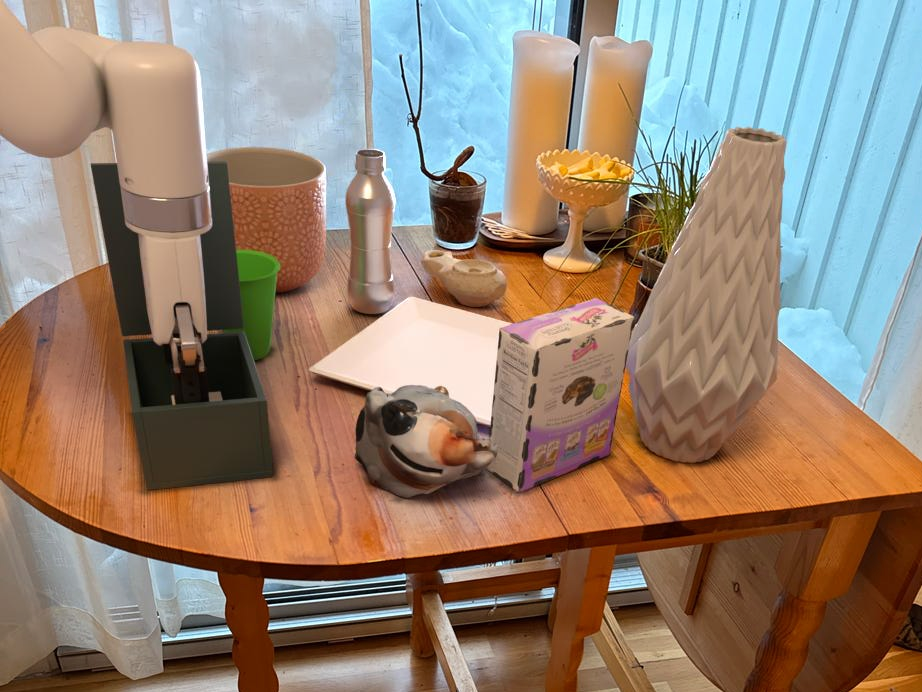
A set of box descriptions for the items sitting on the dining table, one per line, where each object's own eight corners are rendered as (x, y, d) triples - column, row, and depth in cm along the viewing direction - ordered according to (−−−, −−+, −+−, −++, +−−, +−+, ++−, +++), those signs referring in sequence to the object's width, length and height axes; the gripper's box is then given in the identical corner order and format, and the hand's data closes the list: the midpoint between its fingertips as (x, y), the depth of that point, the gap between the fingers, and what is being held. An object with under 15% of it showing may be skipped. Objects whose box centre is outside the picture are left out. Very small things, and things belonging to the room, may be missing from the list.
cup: (234, 375, 114) (225, 284, 107) (198, 345, 119) (187, 257, 112) (299, 357, 119) (294, 269, 112) (262, 330, 124) (255, 244, 116)
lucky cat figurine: (500, 453, 105) (532, 382, 93) (456, 540, 101) (484, 477, 88) (378, 392, 105) (394, 311, 92) (329, 476, 100) (338, 404, 87)
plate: (585, 356, 125) (587, 341, 124) (505, 444, 107) (507, 428, 106) (409, 309, 132) (410, 294, 131) (307, 384, 114) (306, 368, 113)
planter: (335, 303, 132) (332, 187, 121) (209, 305, 128) (195, 186, 118) (322, 256, 144) (318, 147, 134) (206, 257, 140) (193, 145, 130)
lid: (227, 162, 93) (221, 153, 96) (90, 165, 89) (89, 154, 93) (244, 328, 103) (238, 314, 106) (122, 336, 99) (120, 321, 103)
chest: (273, 477, 99) (267, 400, 93) (146, 490, 95) (132, 412, 89) (251, 404, 110) (244, 331, 104) (136, 414, 106) (122, 339, 100)
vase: (776, 479, 106) (882, 164, 84) (636, 486, 103) (708, 160, 81) (719, 405, 118) (799, 112, 96) (592, 409, 115) (645, 107, 93)
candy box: (574, 434, 110) (597, 295, 99) (610, 457, 107) (638, 315, 96) (483, 469, 103) (497, 323, 92) (519, 494, 100) (537, 346, 89)
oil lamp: (427, 273, 142) (429, 238, 139) (518, 292, 139) (522, 257, 136) (400, 298, 135) (401, 263, 131) (496, 319, 132) (499, 283, 128)
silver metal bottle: (403, 308, 132) (407, 153, 119) (375, 324, 128) (376, 164, 114) (366, 295, 134) (365, 141, 121) (337, 311, 130) (332, 153, 116)
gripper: (116, 174, 89) (140, 347, 101) (130, 244, 78) (156, 430, 89) (198, 175, 92) (213, 343, 103) (224, 242, 80) (238, 424, 91)
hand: (186, 383), depth 96 cm, fingers open, 9 cm apart
